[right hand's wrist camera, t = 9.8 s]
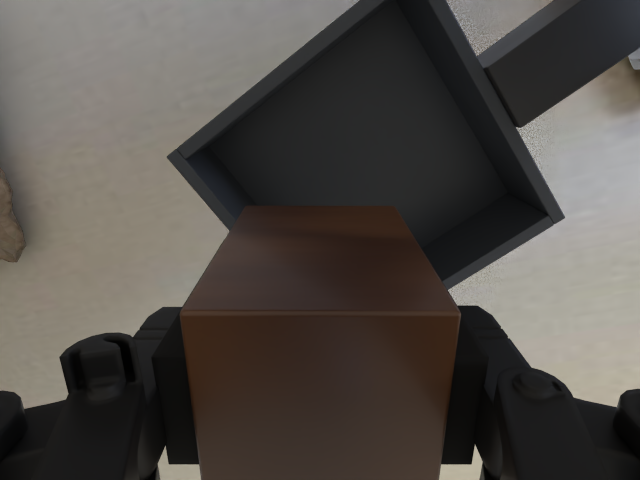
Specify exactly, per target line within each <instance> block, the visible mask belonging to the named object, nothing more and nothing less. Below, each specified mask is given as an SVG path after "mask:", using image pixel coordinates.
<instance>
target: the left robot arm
mask: <svg viewBox="0 0 640 480" xmlns="http://www.w3.org/2000/svg"><path fill="white" fill-rule="evenodd" d="M628 57H629V59H630V62H631V64H632V66H633V68H634V69H640V48H639V49H637V50H636V51H634V52H633V53H631V54H630V55H629V56H628Z"/></svg>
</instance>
